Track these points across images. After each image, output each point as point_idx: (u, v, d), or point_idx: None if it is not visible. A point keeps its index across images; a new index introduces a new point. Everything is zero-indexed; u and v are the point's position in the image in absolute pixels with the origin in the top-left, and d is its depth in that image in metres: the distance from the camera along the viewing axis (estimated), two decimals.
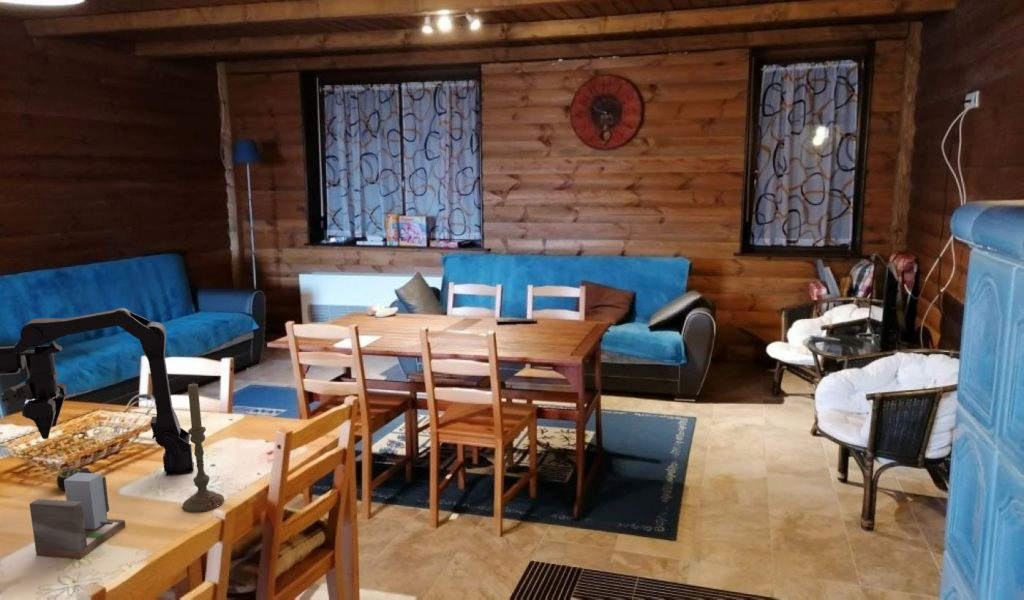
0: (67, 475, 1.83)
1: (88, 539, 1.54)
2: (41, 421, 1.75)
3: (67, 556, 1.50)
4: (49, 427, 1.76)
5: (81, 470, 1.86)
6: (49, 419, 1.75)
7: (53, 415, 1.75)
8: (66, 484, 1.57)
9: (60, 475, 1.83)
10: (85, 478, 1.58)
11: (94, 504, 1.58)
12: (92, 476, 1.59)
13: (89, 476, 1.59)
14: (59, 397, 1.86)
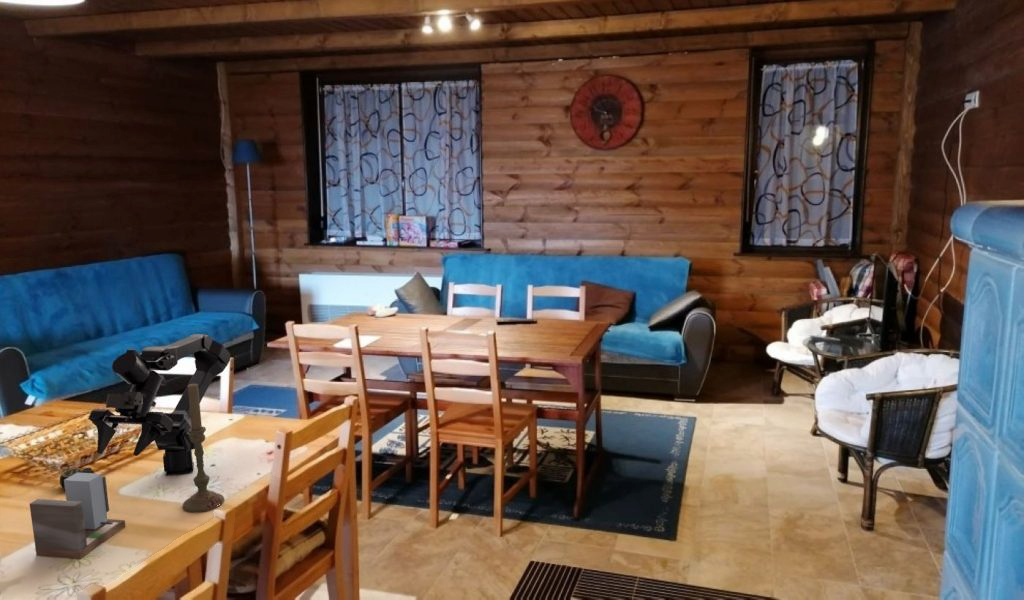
0: (70, 474, 1.83)
1: (88, 539, 1.54)
2: (146, 436, 1.71)
3: (67, 556, 1.50)
4: (147, 445, 1.72)
5: (84, 470, 1.86)
6: (153, 437, 1.73)
7: (160, 435, 1.74)
8: (66, 484, 1.57)
9: (63, 475, 1.83)
10: (85, 478, 1.58)
11: (94, 504, 1.58)
12: (92, 476, 1.59)
13: (89, 476, 1.59)
14: None
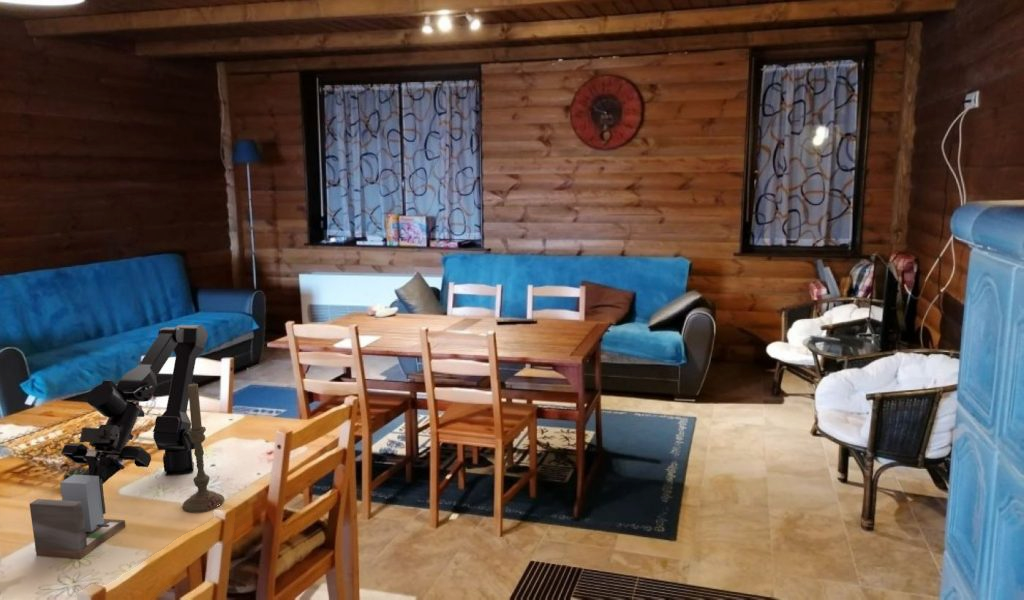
0: (74, 473, 1.84)
1: (88, 539, 1.54)
2: (105, 471, 1.63)
3: (67, 556, 1.50)
4: (105, 481, 1.64)
5: (88, 469, 1.86)
6: (112, 472, 1.65)
7: None
8: (62, 486, 1.56)
9: (67, 474, 1.83)
10: (82, 480, 1.56)
11: (90, 506, 1.57)
12: (88, 478, 1.58)
13: (85, 478, 1.58)
14: None
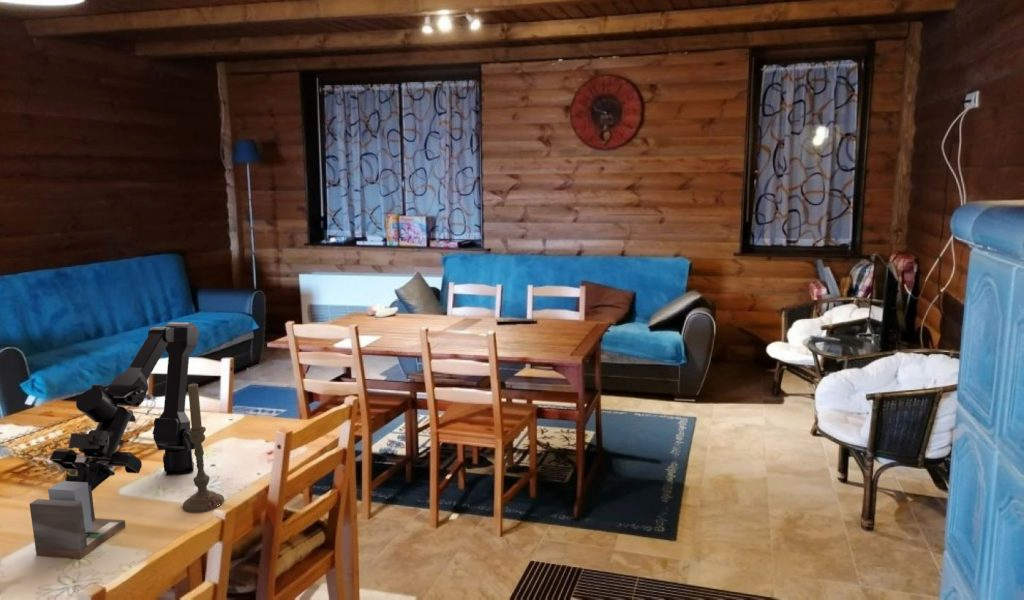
0: (75, 473, 1.84)
1: (88, 539, 1.54)
2: (94, 477, 1.60)
3: (67, 556, 1.50)
4: (94, 487, 1.60)
5: None
6: (102, 479, 1.62)
7: (109, 476, 1.63)
8: (50, 493, 1.53)
9: (69, 473, 1.83)
10: (70, 487, 1.53)
11: None
12: (77, 485, 1.54)
13: (74, 485, 1.54)
14: None
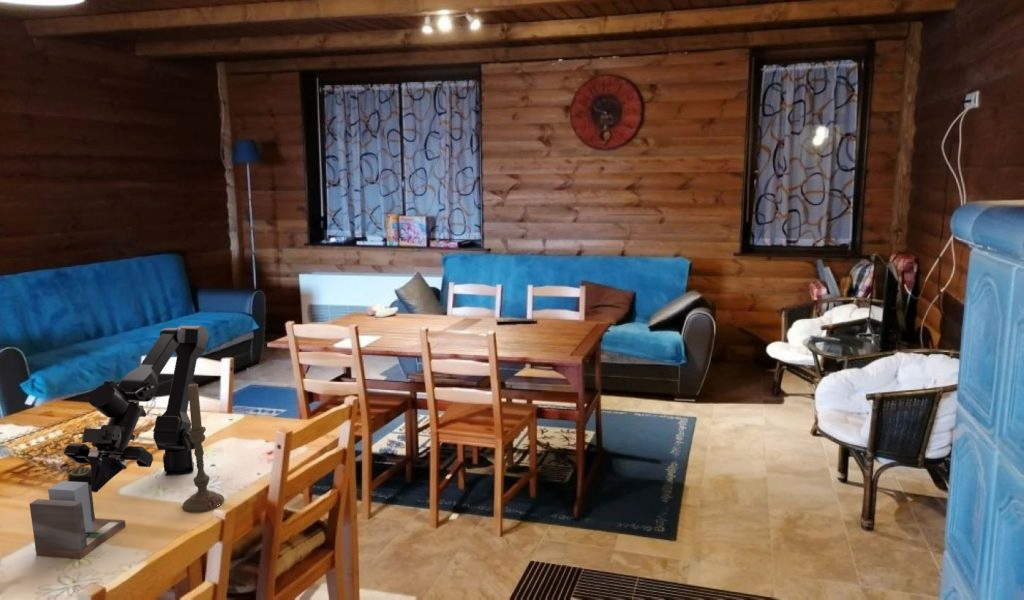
0: (78, 473, 1.84)
1: (88, 539, 1.54)
2: (107, 471, 1.64)
3: (67, 556, 1.50)
4: (107, 481, 1.64)
5: None
6: (114, 472, 1.66)
7: None
8: (50, 493, 1.53)
9: (71, 473, 1.84)
10: (70, 487, 1.53)
11: None
12: (77, 485, 1.54)
13: (74, 485, 1.54)
14: None
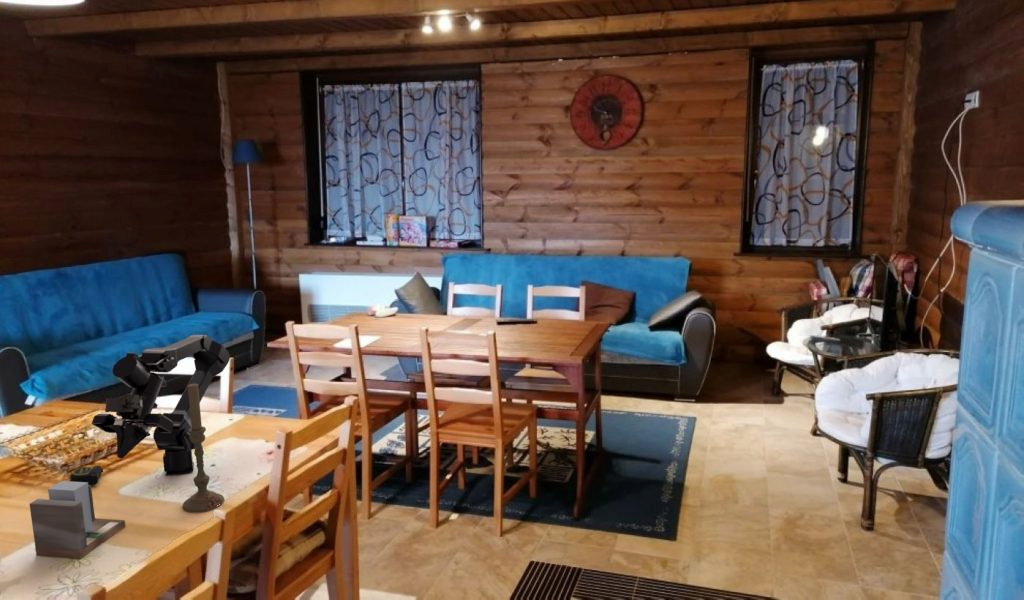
0: (80, 472, 1.84)
1: (88, 539, 1.54)
2: (131, 438, 1.72)
3: (67, 556, 1.50)
4: (132, 447, 1.73)
5: (94, 468, 1.87)
6: (139, 439, 1.74)
7: (145, 437, 1.75)
8: (50, 493, 1.53)
9: (73, 473, 1.84)
10: (70, 487, 1.53)
11: None
12: (77, 485, 1.54)
13: (74, 485, 1.54)
14: None
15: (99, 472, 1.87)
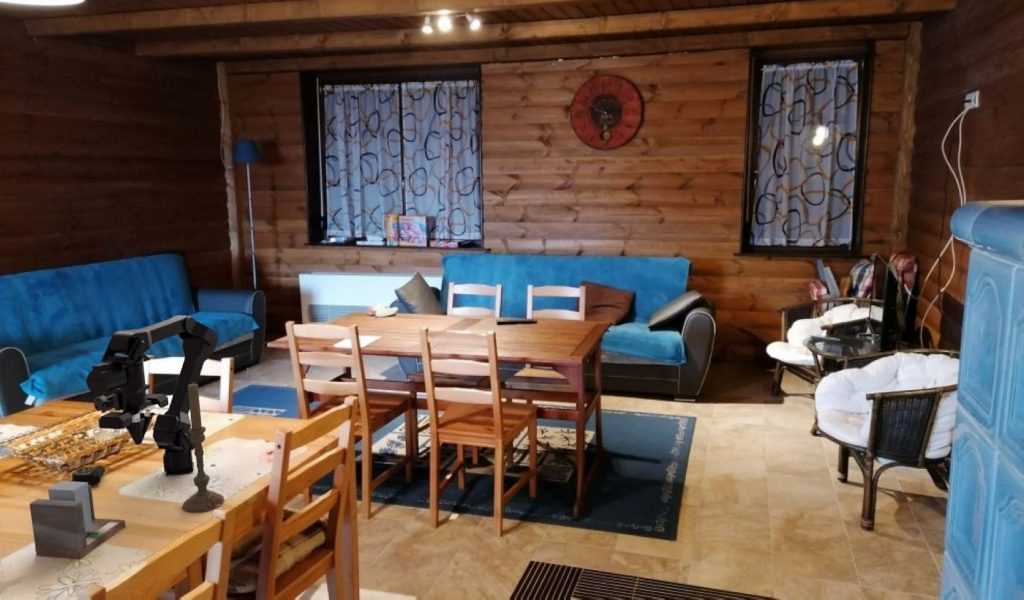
0: (82, 472, 1.85)
1: (88, 539, 1.54)
2: (132, 427, 1.78)
3: (67, 556, 1.50)
4: (139, 434, 1.78)
5: (96, 468, 1.87)
6: (137, 427, 1.77)
7: (139, 424, 1.76)
8: (50, 493, 1.53)
9: (75, 472, 1.84)
10: (70, 487, 1.53)
11: None
12: (77, 485, 1.54)
13: (74, 485, 1.54)
14: (146, 415, 1.80)
15: (101, 472, 1.87)
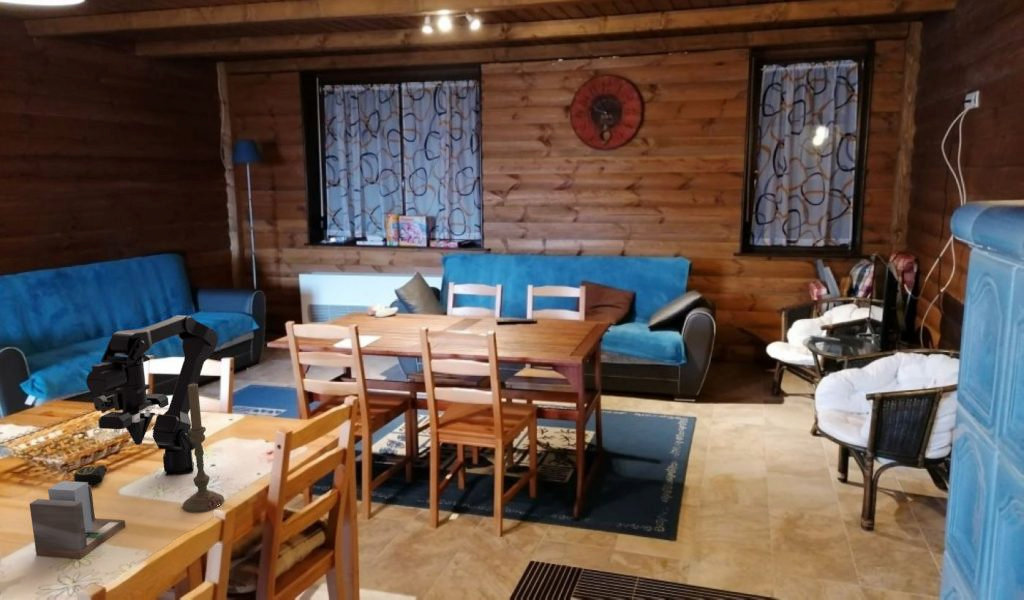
0: (84, 472, 1.85)
1: (88, 539, 1.54)
2: (132, 427, 1.78)
3: (67, 556, 1.50)
4: (139, 434, 1.78)
5: (98, 467, 1.87)
6: (137, 427, 1.77)
7: (139, 424, 1.76)
8: (50, 493, 1.53)
9: (77, 472, 1.84)
10: (70, 487, 1.53)
11: None
12: (77, 485, 1.54)
13: (74, 485, 1.54)
14: (146, 415, 1.80)
15: (103, 471, 1.88)
